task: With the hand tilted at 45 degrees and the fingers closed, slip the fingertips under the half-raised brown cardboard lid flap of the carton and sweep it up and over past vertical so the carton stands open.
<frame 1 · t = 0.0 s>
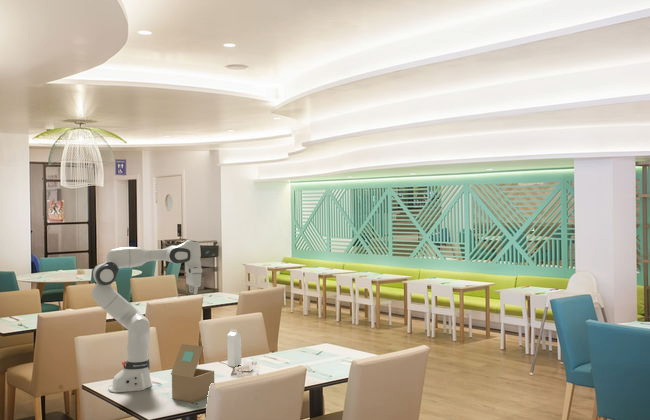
hand: (193, 293, 363), 48 cm above the table, tool pointing down, fingers open, 8 cm apart
lid flap: (186, 360, 326), point 19 cm above the table, hinge at 60.0°
carton: (193, 396, 330), on the table
milk: (234, 365, 394), on the table
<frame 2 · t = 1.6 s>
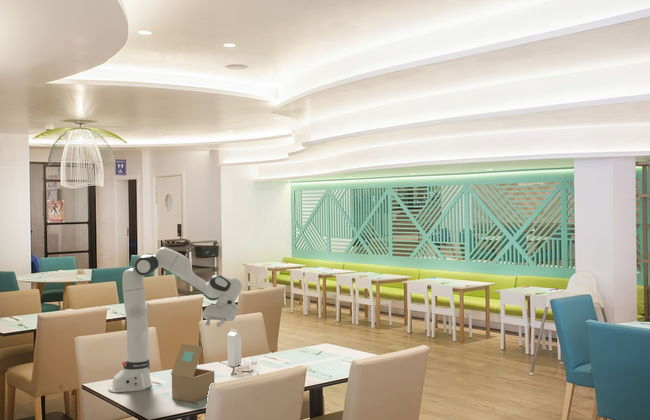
hand: (212, 325, 343), 33 cm above the table, tool tilted 45°, fingers open, 6 cm apart
nothing on the table moved.
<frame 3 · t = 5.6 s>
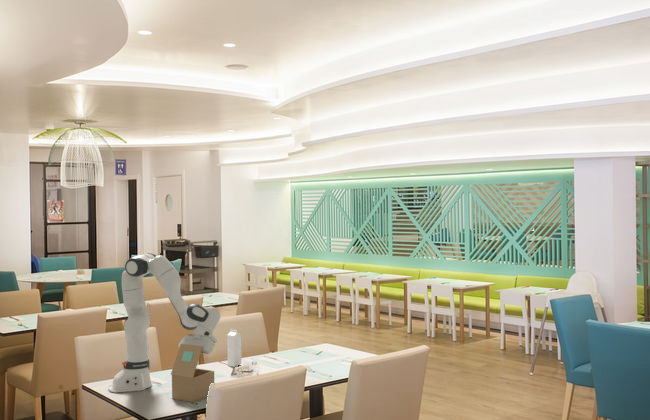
hand: (188, 358, 327), 20 cm above the table, tool tilted 45°, fingers closed, pressing on lid flap
lid flap: (186, 360, 326), point 19 cm above the table, hinge at 61.7°, touching gripper
everything else where it was.
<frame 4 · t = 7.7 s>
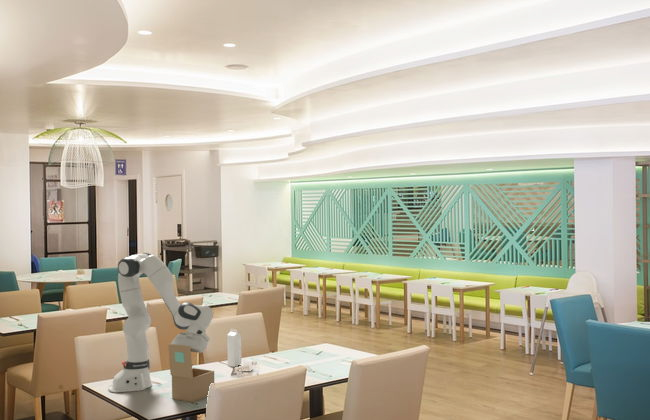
hand: (181, 357, 323), 21 cm above the table, tool tilted 45°, fingers closed, pressing on lid flap
lid flap: (180, 360, 322), point 20 cm above the table, hinge at 94.7°, touching gripper
everything else where it was.
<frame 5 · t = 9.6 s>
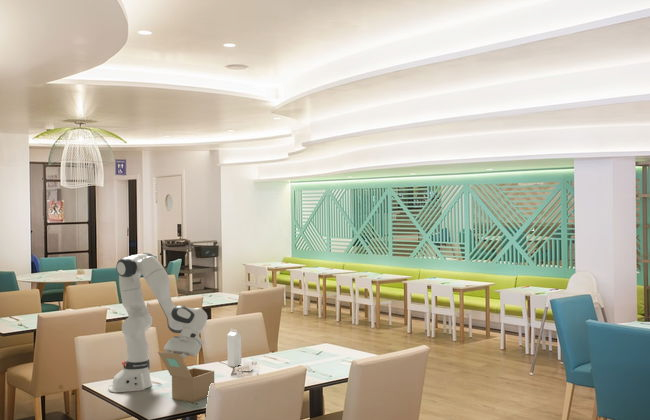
hand: (174, 361, 318), 21 cm above the table, tool tilted 45°, fingers open, 4 cm apart
lid flap: (175, 365, 319), point 19 cm above the table, hinge at 122.3°, touching gripper
everything else where it was.
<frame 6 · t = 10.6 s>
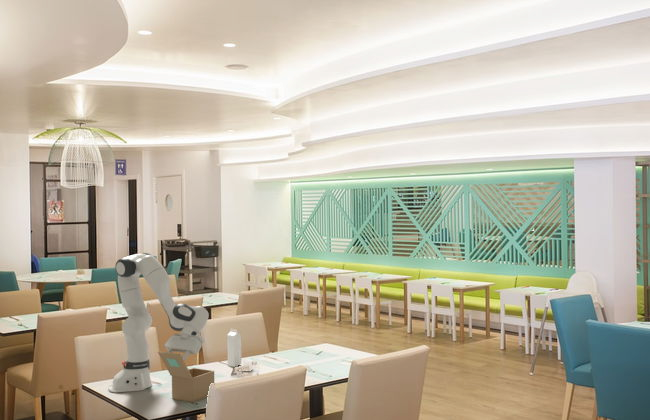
hand: (175, 358, 319), 22 cm above the table, tool tilted 45°, fingers open, 8 cm apart
lid flap: (175, 365, 319), point 19 cm above the table, hinge at 122.3°
everything else where it was.
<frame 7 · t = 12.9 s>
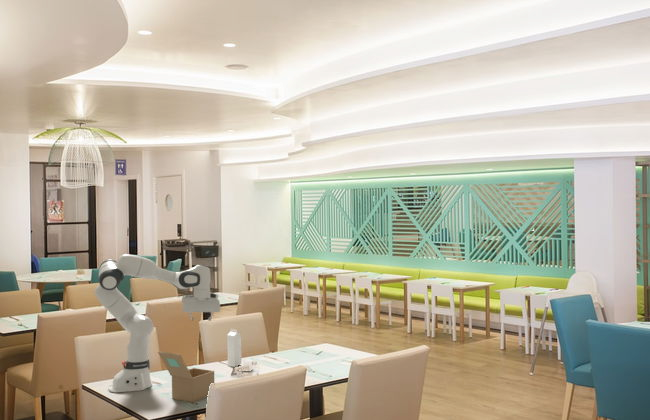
hand: (200, 320, 351), 35 cm above the table, tool pointing down, fingers open, 8 cm apart
nothing on the table moved.
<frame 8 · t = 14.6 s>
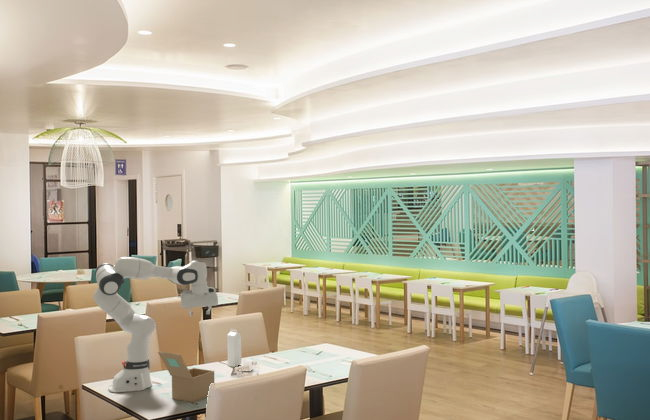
hand: (199, 314, 357), 37 cm above the table, tool pointing down, fingers open, 8 cm apart
nothing on the table moved.
at the end: lid flap at +122° (first picture: +60°); milk moved 0.2 cm from its start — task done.
